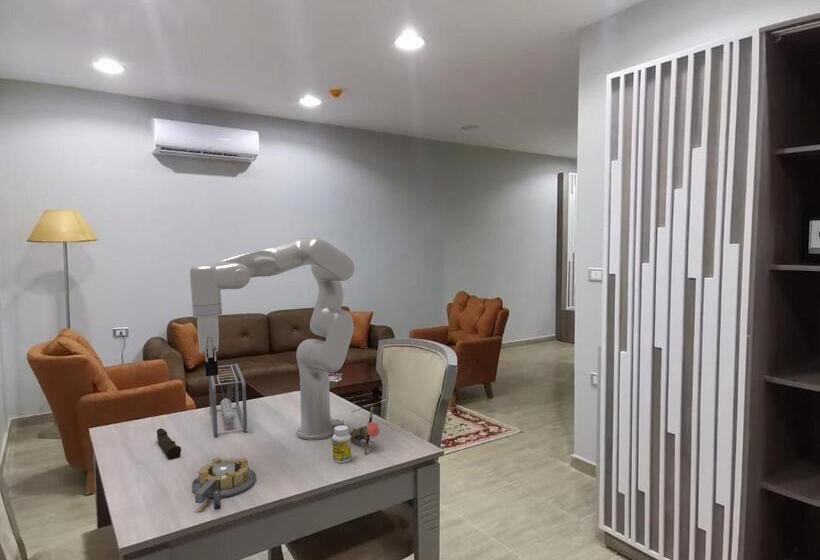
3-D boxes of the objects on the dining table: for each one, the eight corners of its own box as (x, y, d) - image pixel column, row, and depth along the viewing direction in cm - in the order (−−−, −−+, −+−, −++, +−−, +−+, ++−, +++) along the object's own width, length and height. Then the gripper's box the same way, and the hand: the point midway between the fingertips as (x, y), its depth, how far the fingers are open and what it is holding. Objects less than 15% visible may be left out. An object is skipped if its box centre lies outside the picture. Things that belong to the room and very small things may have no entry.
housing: (257, 467, 147) (256, 450, 147) (253, 505, 127) (252, 485, 126) (197, 474, 143) (196, 456, 143) (183, 514, 123) (182, 493, 122)
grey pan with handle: (213, 468, 144) (212, 454, 144) (256, 469, 143) (255, 456, 143) (174, 504, 125) (173, 489, 124) (223, 506, 124) (223, 491, 123)
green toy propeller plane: (359, 466, 166) (396, 457, 152) (332, 458, 161) (368, 448, 147) (366, 417, 175) (402, 404, 161) (342, 408, 170) (376, 395, 156)
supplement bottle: (354, 456, 154) (353, 425, 153) (346, 464, 149) (345, 432, 148) (337, 454, 155) (336, 423, 155) (329, 462, 150) (328, 430, 150)
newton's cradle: (247, 433, 173) (245, 381, 172) (214, 438, 169) (212, 385, 168) (238, 406, 201) (237, 362, 199) (210, 410, 197) (208, 364, 195)
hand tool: (181, 457, 155) (181, 442, 155) (167, 461, 153) (166, 446, 152) (168, 438, 170) (167, 425, 170) (155, 441, 168) (154, 427, 168)
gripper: (193, 307, 148) (198, 370, 150) (192, 315, 134) (197, 384, 136) (221, 305, 150) (225, 366, 152) (222, 312, 137) (227, 380, 139)
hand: (212, 374), depth 144 cm, fingers closed
